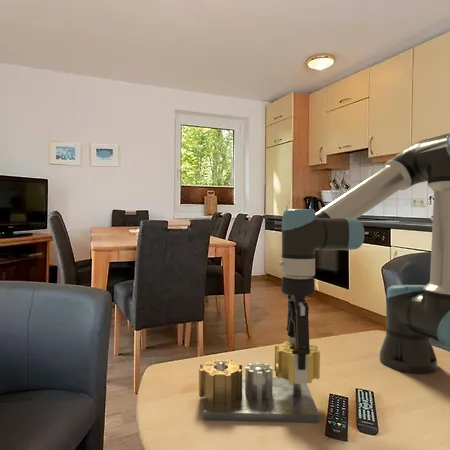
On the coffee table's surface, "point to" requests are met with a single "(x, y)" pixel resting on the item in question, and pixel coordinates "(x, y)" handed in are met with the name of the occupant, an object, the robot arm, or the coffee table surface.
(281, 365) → the gear
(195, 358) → the coffee table surface
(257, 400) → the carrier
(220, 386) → the seated gear
